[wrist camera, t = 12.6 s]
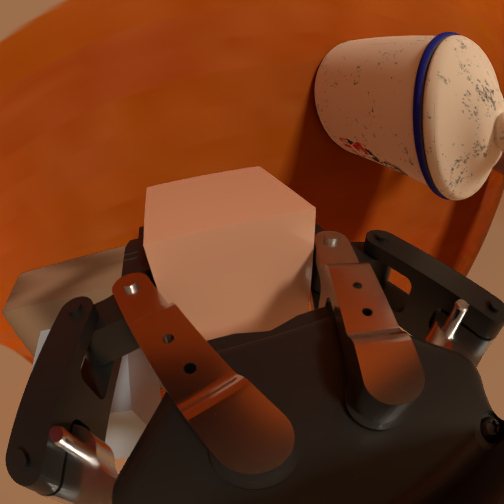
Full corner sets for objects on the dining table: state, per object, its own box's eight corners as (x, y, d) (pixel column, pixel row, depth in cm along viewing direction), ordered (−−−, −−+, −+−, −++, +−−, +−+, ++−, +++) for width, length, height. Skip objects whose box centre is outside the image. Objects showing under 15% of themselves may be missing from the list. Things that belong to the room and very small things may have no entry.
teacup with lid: (311, 162, 18) (460, 249, 8) (302, 30, 13) (476, 5, 3) (420, 151, 20) (530, 204, 11) (421, 55, 15) (543, 79, 6)
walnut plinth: (147, 240, 16) (149, 277, 13) (180, 344, 22) (189, 382, 19) (20, 274, 14) (2, 312, 11) (77, 364, 19) (75, 402, 16)
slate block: (126, 313, 14) (132, 410, 9) (157, 373, 17) (173, 451, 12) (40, 330, 12) (25, 417, 7) (83, 386, 16) (85, 459, 11)
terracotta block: (259, 166, 12) (315, 208, 8) (263, 258, 15) (307, 323, 11) (146, 187, 11) (143, 245, 7) (170, 280, 14) (184, 358, 10)
